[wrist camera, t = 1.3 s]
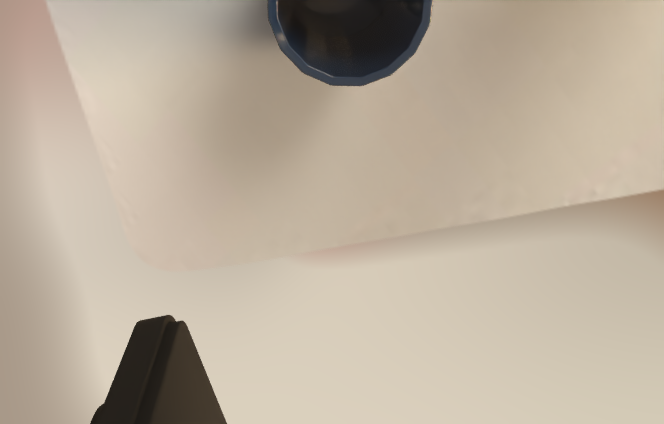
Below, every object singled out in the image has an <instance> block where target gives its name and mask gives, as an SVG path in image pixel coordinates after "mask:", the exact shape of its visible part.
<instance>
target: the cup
mask: <svg viewBox="0 0 664 424" xmlns="http://www.w3.org/2000/svg"><path fill="white" fill-rule="evenodd" d="M432 4H433V0H268V20H269V23H270V25H271V28H272V30H273V33H274V35H275V37H276V40H277V42H278V45H279V47H280V49H281V51H282V52H283V53H284V54H285V55H286V56H287V57H288V58H289V59H290V60H291V61H292V62H293V63H294V64H295V65H296V66H297V67H298V68H299V69H300V71H301V72H303V73H304V74H306V75H309V76H311V77H313V78H315V79H318V80H320V81H322V82H325V83H327V84H329V85H332V86H364V85H366V84H369V83H372V82H374V81H377V80H380V79H382V78H385V77H387V76H390V75H391V74H393V73H394V72H395V71H396V70H397V69H398V68H400V67H401V66H402V65H403V64H404V63H405V62H406V61H407V60H408V59H409V58H411V57H412V56H413V55H414V54H415V52H416V51H417V49H418V47H419V45H420V43H421V41H422V39H423V37H424V35H425V33H426V31H427V29H428V27H429V25H430V22H431V13H432Z"/></svg>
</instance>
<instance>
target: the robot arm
mask: <svg viewBox="0 0 664 424" xmlns="http://www.w3.org/2000/svg"><path fill="white" fill-rule="evenodd" d="M90 424H227V423H226V420H225V418H224V416H223V413H222V411H221V408H220V406H219V403H218V401H217V398H216V396H215V394H214V391H213V389H212V386H211V384H210V381H209V379H208V376H207V374H206V371H205V369H204V366H203V364H202V361H201V359H200V357H199V354H198V352H197V349H196V347H195V344H194V342H193V339H192V337H191V335H190V332H189V330H188V327H187V325H186V323H185V322H184V321H178V322H176V321H175V319H174V318H173V317H172V316H171V315H166V316H161V317H156V318H151V319H146V320H141V321H139V322H137V323H136V325H135V327H134V330H133V332H132V335H131V337H130V340H129V342H128V345H127V347H126V350H125V352H124V355H123V357H122V360H121V362H120V365H119V367H118V370H117V372H116V375H115V378H114V380H113V382H112V385H111V387H110V390H109V393H108V395H107V398H106V400H105V403H104V404H102V405H101V406H100V407H99V408H98V409H97V411H96V412H95V414H94V416H93V418H92V421H91V423H90Z"/></svg>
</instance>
